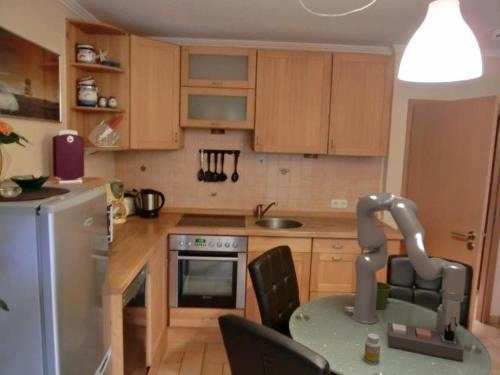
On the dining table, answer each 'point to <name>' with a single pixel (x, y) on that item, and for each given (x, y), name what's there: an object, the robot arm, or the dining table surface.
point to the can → (440, 321)
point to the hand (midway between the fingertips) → (448, 339)
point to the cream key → (399, 329)
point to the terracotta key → (423, 333)
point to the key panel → (425, 344)
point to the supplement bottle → (372, 349)
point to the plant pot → (382, 295)
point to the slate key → (447, 340)
